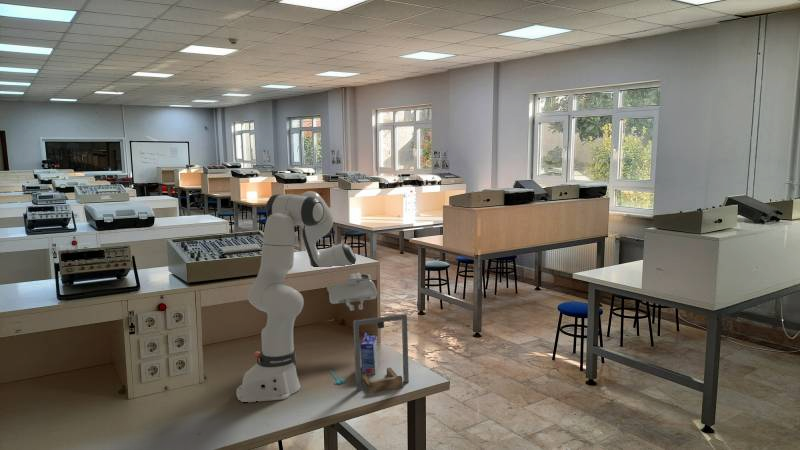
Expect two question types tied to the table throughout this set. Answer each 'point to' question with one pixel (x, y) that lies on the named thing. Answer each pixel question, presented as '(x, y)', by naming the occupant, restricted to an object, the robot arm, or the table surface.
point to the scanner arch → (380, 324)
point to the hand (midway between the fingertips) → (356, 309)
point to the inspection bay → (382, 382)
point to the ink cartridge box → (369, 354)
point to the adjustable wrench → (338, 379)
